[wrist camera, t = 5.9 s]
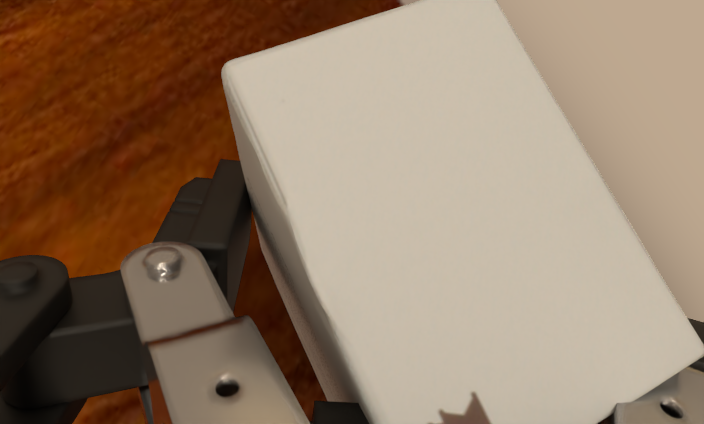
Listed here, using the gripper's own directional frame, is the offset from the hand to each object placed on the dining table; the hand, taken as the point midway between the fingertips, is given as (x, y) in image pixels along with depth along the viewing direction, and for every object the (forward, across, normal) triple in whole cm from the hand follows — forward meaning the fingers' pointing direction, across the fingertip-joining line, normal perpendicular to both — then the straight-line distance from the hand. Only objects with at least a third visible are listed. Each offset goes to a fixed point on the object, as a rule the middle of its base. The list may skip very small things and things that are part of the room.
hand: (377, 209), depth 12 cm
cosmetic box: (+3, 0, +5) cm, 6 cm away
